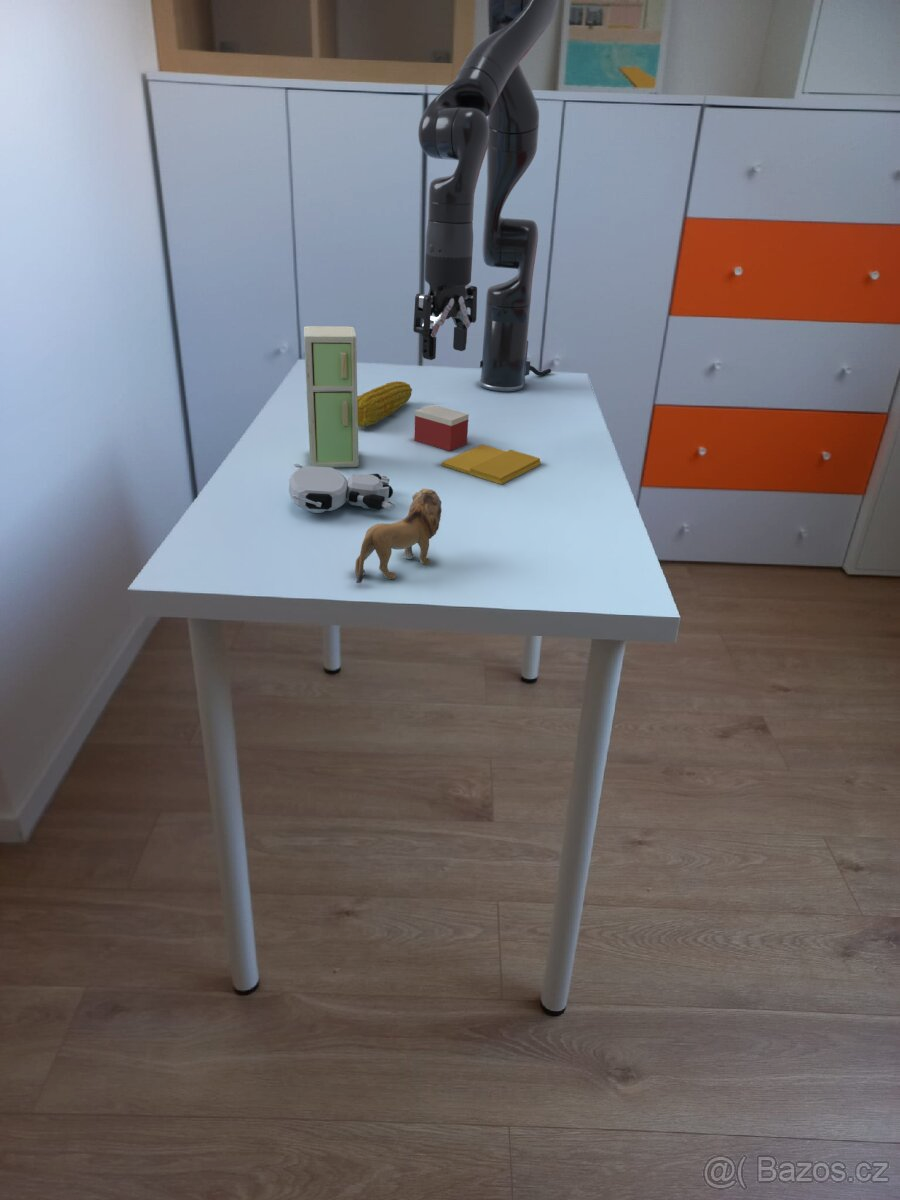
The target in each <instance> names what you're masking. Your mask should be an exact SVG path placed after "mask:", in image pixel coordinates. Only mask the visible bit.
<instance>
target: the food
mask: <svg viewBox="0 0 900 1200" xmlns="http://www.w3.org/2000/svg"><path fill="white" fill-rule="evenodd" d="M412 392H413V388H412V387H411V385H410V384H409V383H408V382H405V381H399V380H396V381H389V382H387V383H385V384H383V385H380V386H377V387H374V388H372V389H370V390H368V391H366V392H364V393H362V394H360V395H357V407H358V427H364V428H366V427H368V426H370V427H371V426H372V425H375V424H377V423H379V422H380V421H382V420H384V419H386V418H387V417H389V416H391V415H392V414H394V413H395V412H396V411H398V410H400V409H401V407H403V406H404V405H405V404H406V403H407V402H408V401H409V400H410V399H411V397H412Z"/></svg>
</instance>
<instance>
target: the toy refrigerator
mask: <svg viewBox="0 0 900 1200" xmlns="http://www.w3.org/2000/svg"><path fill="white" fill-rule="evenodd" d="M303 342H304V345H303V346H304V364H305V366H304V367H305V384H306V385H305V386H306V387H305V388H306V407H307V425H308V444H309V445H308V447H309V466H317V467H331V468H334V469H335V468H358V467H359V466H360V465H359V462H360V461H359V456H360V455H359V426H358V407H357V396H358V360H357V359H358V358H357V357H358V356H357V355H358V353H357V349H358V348H357V334H356V330H355V326H348V325H347V326H346V325H345V326H344V325H321V326H320V325H305V326H304V327H303Z"/></svg>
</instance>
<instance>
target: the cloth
mask: <svg viewBox="0 0 900 1200" xmlns="http://www.w3.org/2000/svg"><path fill="white" fill-rule="evenodd" d="M541 464H542V461H541V457H537V456H534V455H530V454H527V453H523V452H519V451H516V450H513V449H509V450H503V449H501V448H500V449H499V448H496V447H493V446H489V445H486V444H480V445H478V446H476V447H473V448H471V449H469V450H466V451H464V452H462V453H459V454H457V455H455V456H452V457H450V458H448V459H446V460H443V461H442V462H441V466H442V467H445V468H448V469H451V470H454V471H457V472H461V473H464V474H467V475H470V476H473V477H477V478H479V479H483V480H485V481H490V482H493V483H495V484H498V485H503V484H506V483H508V482H509V481H511V480H513V479H515V478H518V477H520V476H521V475H523V474H526V473H527V472H529V471H531V470H533V469H535V468H536V467H539V466H541Z"/></svg>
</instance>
